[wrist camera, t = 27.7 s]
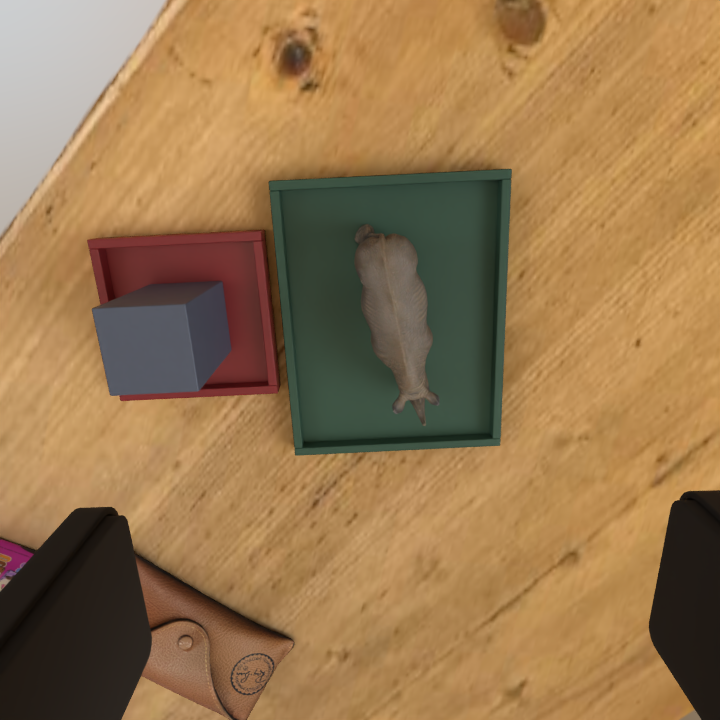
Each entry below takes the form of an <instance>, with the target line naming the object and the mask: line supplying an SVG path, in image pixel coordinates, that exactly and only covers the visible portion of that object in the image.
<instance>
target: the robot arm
mask: <svg viewBox="0 0 720 720" xmlns="http://www.w3.org/2000/svg"><path fill="white" fill-rule="evenodd" d="M649 632H650V636H651V639H652V642H653V645H654V646H655V648H656V650H657V651H658V653H659V655H660V656H661V658H662V659H663V661H664V662H665V664H666V665H667V667H668V668H669V670H670V672H671V673H672V675H673V676H674V678H675V679H676V681H677V682H678V684H679V685H680V687H681V689H682V690H683V692H684V693H685V695H686V696H687V698H688V699H689V701H690V703H691V704H692V706H693V707H694V709H695V710H696V712H697V713H698V715H699V716H700V718H701V720H720V490H717V491H688V492H685V493H684V494H683V495H682V496H681V498H680V500H677V501H675V502H674V503H673V504H672V507H671V510H670V515H669V521H668V526H667V531H666V536H665V542H664V547H663V552H662V557H661V563H660V568H659V573H658V578H657V584H656V589H655V594H654V599H653V605H652V610H651V615H650V621H649ZM151 646H152V634H151V629H150V625H149V620H148V615H147V610H146V606H145V601H144V596H143V591H142V587H141V582H140V577H139V572H138V568H137V563H136V558H135V553H134V549H133V544H132V539H131V534H130V530H129V525H128V521H127V519H126V517H125V516H122V515H121V516H119V515H118V513H117V511H116V510H115V508H112V507H96V508H78V509H75V510H74V511H73V512H72V513H71V514H70V515H69V516H68V517H67V518H66V519H65V520H64V521H63V523H62V524H61V525H60V526H59V527H58V528H57V529H56V530H55V531H54V533H53V534H52V535H51V536H50V537H49V538H48V539H47V540H46V541H45V543H44V544H43V545H42V546H41V547H40V548H39V549H38V550H37V551H36V553H35V554H34V555H33V556H32V557H31V558H30V559H29V560H28V561H27V562H26V564H25V565H24V566H23V567H22V568H21V569H20V570H19V571H18V572H17V574H16V575H15V576H14V577H13V578H12V579H11V580H10V581H9V582H8V584H7V585H6V586H5V587H4V588H3V589H2V590H1V591H0V720H121V719H122V717H123V714H124V712H125V710H126V708H127V706H128V703H129V701H130V699H131V697H132V695H133V692H134V690H135V688H136V686H137V684H138V681H139V679H140V677H141V675H142V673H143V670H144V668H145V666H146V664H147V662H148V659H149V656H150V652H151Z"/></svg>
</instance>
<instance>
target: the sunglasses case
mask: <svg viewBox="0 0 720 720" xmlns="http://www.w3.org/2000/svg"><path fill="white" fill-rule="evenodd" d="M135 558H136V563H137V568H138V572H139V577H140V582H141V587H142V591H143V596H144V601H145V606H146V610H147V615H148V620H149V625H150V629H151V634H152V646H151V652H150V656H149V659H148V662H147V664H146V666H145V668H144V670H143V673H142V675H141V676H143V677H145V678H147V679H149V680H151V681H153V682H155V683H156V684H159V685H161V686H163V687H164V688H166V689H169V690H171V691H173V692H175V693H177V694H179V695H181V696H183V697H185V698H187V699H189V700H191V701H193V702H196V703H197V704H200V705H202V706H204V707H206V708H208V709H211V710H212V711H215V712H217V713H219V714H221V715H223V716H224V717H226V718H228V719H229V720H247V718H248V717H249V715H250V713H251V711H252V710H253V707H254V706H255V704H256V702H257V701H258V699H259V697H260V695H261V693H262V691H263V690H264V688H265V686H266V684H267V683H268V681H269V679H270V677H271V676H272V674H273V672H274V671H275V669H276V667H277V665H278V664H279V663H280V662H281V660H282V659H283V658H284V657H285V656H286V655H287V654H288V653H289V651H290V650H291V649H292V648H293V646H294V641H293V640H292V639H290V638H288V637H285V636H283V635H280V634H278V633H276V632H273V631H271V630H269V629H266V628H264V627H262V626H260V625H258V624H256V623H254V622H252V621H250V620H249V619H247V618H245V617H243V616H241V615H240V614H238V613H236V612H234V611H232V610H230V609H229V608H227V607H225V606H223V605H222V604H220V603H218V602H216V601H214V600H213V599H211V598H209V597H207V596H206V595H204V594H202V593H201V592H199V591H197V590H196V589H194V588H192V587H191V586H189V585H187V584H186V583H184V582H182V581H181V580H179V579H177V578H176V577H174V576H172V575H171V574H169V573H167V572H165V571H164V570H162V569H160V568H158V567H157V566H155V565H153V564H152V563H150V562H149V561H147V560H145V559H143V558H141V557H140V556H138V555H136V554H135Z"/></svg>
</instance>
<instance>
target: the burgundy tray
mask: <svg viewBox="0 0 720 720" xmlns="http://www.w3.org/2000/svg"><path fill="white" fill-rule="evenodd" d="M87 242H88V246H89V249H90V250H89V251H90V256H91V260H92V265H93V270H94V275H95V280H96V285H97V289H98V294H99V299H100V304H101V305H102V304H104V303H107V302H109V301H111V300H114V299H116V298H119V297H121V296H123V295H126V294H128V293H131V292H133V291H135V290H138V289H140V288H142V287H145V286H147V285H150V284H167V283H187V282H207V281H222V282H223V289H224V297H225V304H226V312H227V320H228V327H229V335H230V343H231V352H230V353H229V354H228V356H227V357H226V358H225V359H224V361H223V362H222V363H221V364H220V366H219V367H218V368H217V369H216V370H215V372H214V373H213V374H212V375H211V377H210V378H209V379H208V380H207V382H206V383H205V384H204V385H203V387H202V388H201V389H200V390H199V391H198V392H178V393H158V394H137V395H119V396H120V400H121V401H130V400H151V399H171V398H191V397H212V396H232V395H253V394H273V393H278V391H279V388H280V376H279V366H278V356H277V346H276V337H275V327H274V317H273V307H272V298H271V288H270V278H269V268H268V259H267V249H266V239H265V230H250V231H230V232H210V233H190V234H170V235H150V236H130V237H110V238H96V239H89V240H87Z"/></svg>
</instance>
